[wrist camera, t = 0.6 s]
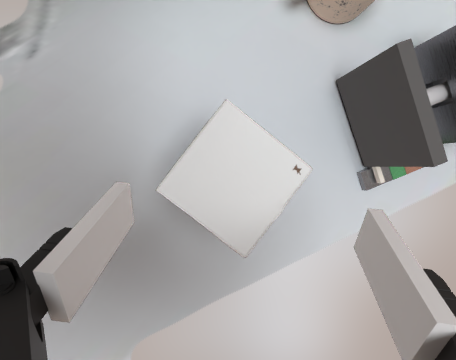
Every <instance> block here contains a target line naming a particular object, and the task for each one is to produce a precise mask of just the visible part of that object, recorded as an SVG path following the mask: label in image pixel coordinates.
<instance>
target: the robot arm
mask: <svg viewBox="0 0 456 360" xmlns="http://www.w3.org/2000/svg"><path fill="white" fill-rule="evenodd" d="M133 224H134V215H133V207H132V199H131V190H130V183H125V182H116V183H115V184H114V185H113V186H112V187H111V188H110V189H109V190H108V191H107V192H106V193H105V194H104V195H103V196H102V198H101V199H100V200H99V201H98V202H97V203H96V204H95V205H94V206H93V207H92V208H91V209H90V210H89V211H88V213H87V214H86V215H85V216H84V217H83V218H82V219H81V220H80V221H79V222H78V223H77V224H76V225H75V226H74V227H73V228H66V227H65V228H63V229H62V230H60V231H58V232H56V233H55V234H53V235H52V236H51V237H50V238H49V239H48V240H47V241H46V244H43V245H42V246H41V247H40V248H39V250H37V251H36V252H35V253H34V254H33V255H32V256H31V257H30V258H29V259H28V260H27V261H26V262H25V263H24V264H23V265H22V266H21V267H19V264H18V262H17V261H16V260H14V259H12V258H3V259H0V360H48V359H47V351H46V343H45V335H44V328H43V323H42V320H41V319H42V318H43V317H44V315H45V314H46V313H47V311H48V313H49V315H50V318H51V320H53V321H61V322H68V323H70V321H71V320H72V318H73V317H74V315H75V314H76V312H77V310H78V309H79V307H80V306H81V304H82V303H83V301H84V300H85V298H86V297H87V295H88V293H89V292H90V290H91V289H92V287H93V286H94V284H95V283H96V281H97V280H98V278H99V276H100V275H101V273H102V272H103V270H104V269H105V267H106V266H107V264H108V262H109V261H110V259H111V258H112V256H113V255H114V253H115V252H116V250H117V249H118V247H119V245H120V244H121V242H122V241H123V239H124V238H125V236H126V235H127V233H128V231H129V230H130V228H131V227H132V225H133ZM354 249H355V252H356V254H357V256H358V259H359V261H360V263H361V266H362V268H363V270H364V273H365V275H366V277H367V280H368V282H369V284H370V287H371V289H372V291H373V293H374V296H375V298H376V301H377V303H378V305H379V308H380V310H381V312H382V315H383V317H384V319H385V321H386V324H387V326H388V328H389V331H390V333H391V335H392V338H393V340H394V342H395V345H396V347H397V349H398V352H399V354H400V356H401V359H402V360H456V297H455V295H454V294H453V292H451V290H450V288H449V287H448V286H447V284H446V283H445V281H444V280H443V279H442V278H441V277H440V276H438V275H437V274H436V273H435V272H434V271H432V270H429V269H422V267H421V266H420V264H419V263H418V262H417V260H416V258H415V257H414V255H413V254H412V252H411V251H410V249H409V248H408V246H407V245H406V244H405V242H404V241H403V239H402V238H401V236H400V235H399V233H398V232H397V230H396V229H395V228H394V226H393V224H392V223H391V221H390V220H389V218H388V217H387V216H386V214H385V213H384V211H383V210H378V209H369V208H368V210H367V213H366V215H365V218H364V221H363V224H362V226H361V229H360V232H359V234H358V237H357V240H356V242H355V245H354Z"/></svg>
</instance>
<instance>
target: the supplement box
mask: <svg viewBox="0 0 456 360" xmlns="http://www.w3.org/2000/svg"><path fill="white" fill-rule="evenodd" d="M312 170H313V168H312V167H311V166H310V165H308V164H307V163H306V162H305V161H303V160H302V159H301V158H300V157H299V156H297V155H296V154H295V153H294V152H292V151H291V150H290V149H289V148H287V147H286V146H285V145H284V144H282V143H281V142H280V141H279V140H277V139H276V138H275V137H274V136H272V135H271V134H270V133H269V132H267V131H266V130H265V129H264V128H262V127H261V126H260V125H259V124H257V123H256V122H255V121H254V120H252V119H251V118H250V117H249V116H247V115H246V114H245V113H244V112H242V111H241V110H240V109H239V108H237V107H236V106H235V105H234V104H232V103H231V102H230V101H229V100H228V99H226V100H225V101H224V102H223V103H222V105H221V106H220V107H219V108H218V110H217V111H216V112H215V113H214V115H213V116H212V117H211V118H210V120H209V121H208V122H207V123H206V125H205V126H204V127H203V128H202V130H201V131H200V132H199V134H198V135H197V136H196V137H195V139H194V140H193V141H192V143H191V144H190V145H189V146H188V148H187V149H186V150H185V152H184V153H183V154H182V155H181V157H180V158H179V159H178V161H177V162H176V163H175V165H174V166H173V167H172V169H171V170H170V171H169V173H168V174H167V175H166V177H165V178H164V179H163V181H162V182H161V183H160V185H159V186H158V187H157V189H156V191H157V192H158V193H160V194H161V195H163V196H164V197H165V198H167V199H168V200H169V201H171V202H172V203H173V204H175V205H176V206H177V207H179V208H180V209H181V210H183V211H184V212H185V213H187V214H188V215H189V216H191V217H192V218H193V219H194V220H196V221H197V222H198V223H200V224H201V225H202V226H204V227H205V228H206V229H207V230H209V231H210V232H211V233H212V234H214V235H215V236H216V237H217V238H219V239H220V240H221V241H223V242H224V243H225V244H226V245H228V246H229V247H230V248H232V249H233V250H234V251H235V252H237V253H238V254H239V255H241V256H242V257H244V258H246V257H247V256H248V255H249V253H250V252H251V251H252V249H253V248H254V247H255V246H256V244H257V243H258V242H259V240H260V239H261V238H262V236H263V235H264V234H265V232H266V231H267V230H268V228H269V227H270V226H271V224H272V223H273V222H274V221H275V220H276V219H277V218H278V217H279V215H280V214H281V213H282V211H283V210H284V208H285V206H286V205H287V203H288V202H289V201H290V199H291V198H292V197H293V195H294V194H295V193H296V191H297V190H298V189H299V188H300V186H301V185H302V184H303V182H304V181H305V180H306V178H307V177H308V176H309V174H310V173H311V172H312Z"/></svg>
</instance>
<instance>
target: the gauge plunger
mask: <svg viewBox="0 0 456 360" xmlns="http://www.w3.org/2000/svg"><path fill="white" fill-rule="evenodd" d="M336 82H337V85H338V88H339V91H340V94H341V97H342V100H343V103H344V106H345V109H346V112H347V115H348V118H349V121H350V124H351V127H352V130H353V133H354V137H355V140H356V143H357V146H358V149H359V152H360V155H361V158H362V161H363V164H364V167H372V169H373V172H374V175H375V178H376V181H377V183H380V184H381V183H384V182H385V180H384V177H383V174H382V170H381V167H435V166H437V165H440V164H442V163H445V162H447V161H448V160H447V157H446V153H445V150H444V147H443V143H442V140H441V137H440V133H439V130H438V127H437V123H436V120H435V117H434V113H433V110H432V107H431V106H432V105H434V104H437V103H439V102H442V101H445V100H447V99H450V98H452V94H451V91H450V88H449V84H448V81H446V82H443V83H441V84H438V85H435V86H433V87H430V88H427V89H426V87H425V83H424V80H423V77H422V73H421V70H420V67H419V63H418V60H417V57H416V53H415V50H414V47H413V43H412V40H411V39H408V40H406V41H403V42H400V43H397V44H395V45H394V46H392V47H390V48H389V49H387V50H386V51H384V52H382V53H381V54H379V55H377V56H376V57H374V58H372V59H371V60H369V61H367V62H366V63H364V64H362V65H361V66H359V67H358V68H356V69H354V70H353V71H351V72H349V73H348V74H346V75H344V76H343V77H341V78H339V79H338V80H336Z"/></svg>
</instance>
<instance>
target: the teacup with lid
mask: <svg viewBox="0 0 456 360" xmlns="http://www.w3.org/2000/svg"><path fill="white" fill-rule="evenodd" d="M307 1H308V3H309V5H310V7H311V9H312V10H313V11H314V13H315V14H316V15H317V16H319V17H320V18H321V19H323V20H325V21H327V22H330V23H337V24H339V23H346V22H349V21H351V20H353V19H354V18H356V17H357V16H358V15H359V14H360V13H362V12H363V11H364V10H365V9H366V8H367V7H368V6H369V5H370V4H371V3H372V2H374V1H375V0H307Z"/></svg>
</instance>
